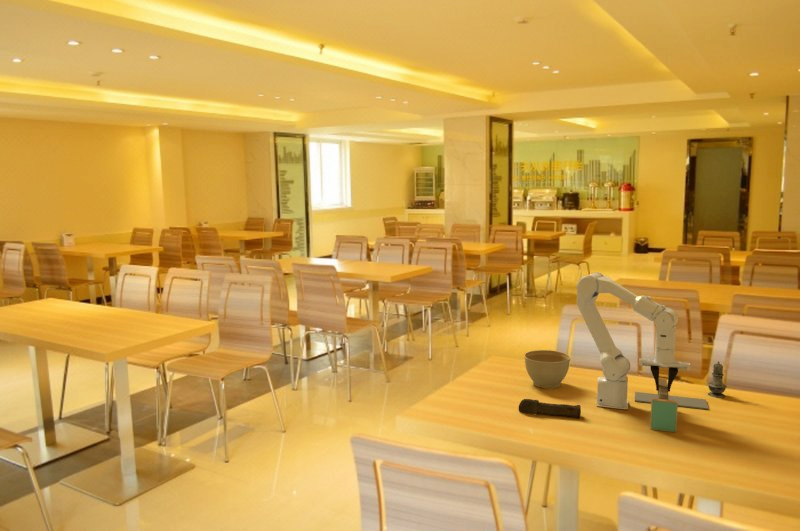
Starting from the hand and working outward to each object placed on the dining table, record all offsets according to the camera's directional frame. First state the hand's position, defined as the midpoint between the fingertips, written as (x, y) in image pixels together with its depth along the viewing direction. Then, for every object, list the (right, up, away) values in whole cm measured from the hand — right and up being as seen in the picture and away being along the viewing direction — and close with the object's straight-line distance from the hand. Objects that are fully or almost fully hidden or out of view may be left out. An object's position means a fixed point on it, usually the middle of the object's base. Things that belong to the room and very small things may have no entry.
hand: (662, 390), depth 190 cm
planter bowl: (-29, -5, +31) cm, 42 cm away
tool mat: (+8, -6, +13) cm, 16 cm away
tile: (-5, -9, -11) cm, 15 cm away
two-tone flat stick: (0, -3, 0) cm, 3 cm away
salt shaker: (+26, -6, +19) cm, 33 cm away
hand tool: (-35, -9, +1) cm, 36 cm away
